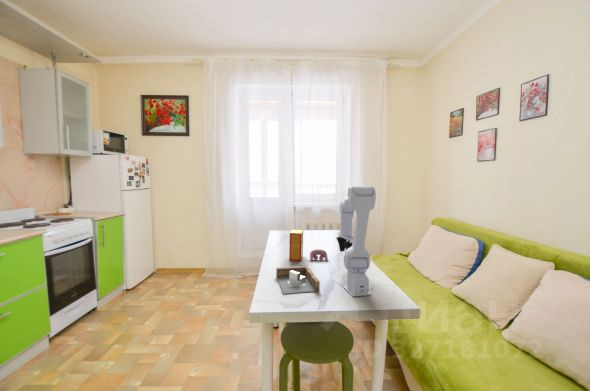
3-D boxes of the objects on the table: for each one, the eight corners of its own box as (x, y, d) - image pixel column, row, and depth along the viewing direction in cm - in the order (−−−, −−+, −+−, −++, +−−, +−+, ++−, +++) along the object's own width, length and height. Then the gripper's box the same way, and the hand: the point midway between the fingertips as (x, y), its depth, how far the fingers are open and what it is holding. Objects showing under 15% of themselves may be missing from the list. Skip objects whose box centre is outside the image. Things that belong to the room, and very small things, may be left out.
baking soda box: (291, 255, 154) (292, 228, 153) (302, 255, 153) (303, 229, 152) (289, 260, 144) (289, 232, 143) (300, 261, 144) (301, 232, 142)
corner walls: (319, 291, 106) (319, 281, 106) (283, 295, 103) (283, 284, 103) (307, 274, 124) (307, 265, 124) (276, 277, 121) (276, 268, 120)
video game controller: (326, 262, 147) (326, 250, 150) (328, 261, 143) (327, 248, 145) (309, 262, 147) (309, 250, 149) (310, 261, 142) (310, 248, 145)
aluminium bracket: (297, 285, 111) (297, 274, 111) (289, 282, 114) (289, 271, 114) (305, 281, 116) (305, 270, 115) (297, 278, 119) (298, 267, 118)
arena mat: (318, 291, 107) (318, 290, 107) (283, 294, 103) (283, 293, 103) (307, 274, 124) (307, 273, 124) (276, 277, 121) (276, 275, 121)
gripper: (360, 229, 121) (359, 257, 122) (347, 223, 135) (346, 248, 136) (346, 229, 119) (345, 258, 120) (334, 223, 133) (334, 249, 134)
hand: (345, 253), depth 128 cm, fingers open, 7 cm apart
